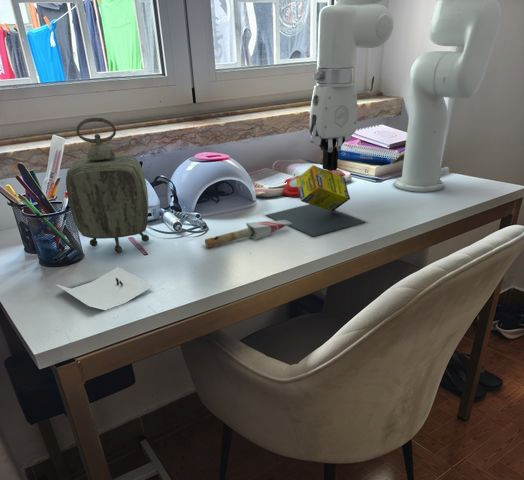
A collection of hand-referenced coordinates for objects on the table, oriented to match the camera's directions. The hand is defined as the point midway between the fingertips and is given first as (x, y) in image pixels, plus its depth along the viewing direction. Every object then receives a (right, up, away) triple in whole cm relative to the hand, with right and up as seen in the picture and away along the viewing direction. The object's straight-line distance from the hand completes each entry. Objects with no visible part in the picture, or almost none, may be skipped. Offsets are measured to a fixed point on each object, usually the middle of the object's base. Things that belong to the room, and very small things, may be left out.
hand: (329, 169), depth 113 cm
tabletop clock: (-45, -20, -10) cm, 50 cm away
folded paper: (-43, -31, -26) cm, 59 cm away
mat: (-3, -11, +3) cm, 11 cm away
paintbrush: (-18, -17, -6) cm, 26 cm away
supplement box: (+3, -4, +5) cm, 7 cm away
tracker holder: (-4, +1, +21) cm, 21 cm away
